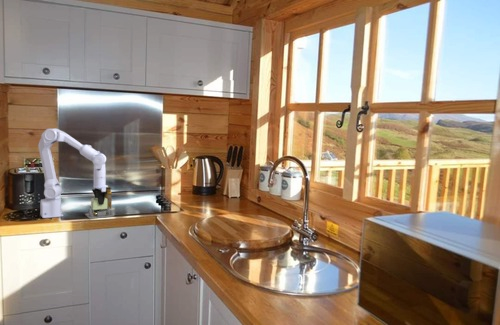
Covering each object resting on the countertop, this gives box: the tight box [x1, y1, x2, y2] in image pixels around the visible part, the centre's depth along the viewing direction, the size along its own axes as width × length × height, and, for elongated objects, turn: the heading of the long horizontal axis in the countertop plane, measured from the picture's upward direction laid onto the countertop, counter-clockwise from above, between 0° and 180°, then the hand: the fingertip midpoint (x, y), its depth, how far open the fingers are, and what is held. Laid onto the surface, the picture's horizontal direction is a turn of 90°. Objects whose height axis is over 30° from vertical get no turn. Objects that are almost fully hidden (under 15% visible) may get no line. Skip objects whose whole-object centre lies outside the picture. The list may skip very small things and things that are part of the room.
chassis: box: [84, 207, 115, 220], centre depth 214 cm, size 12×9×4 cm
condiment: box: [102, 186, 115, 211], centre depth 231 cm, size 7×8×12 cm
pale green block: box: [90, 197, 107, 211], centre depth 213 cm, size 7×4×5 cm, turn 126°
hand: (99, 203), depth 213 cm, fingers closed on pale green block, 4 cm apart
